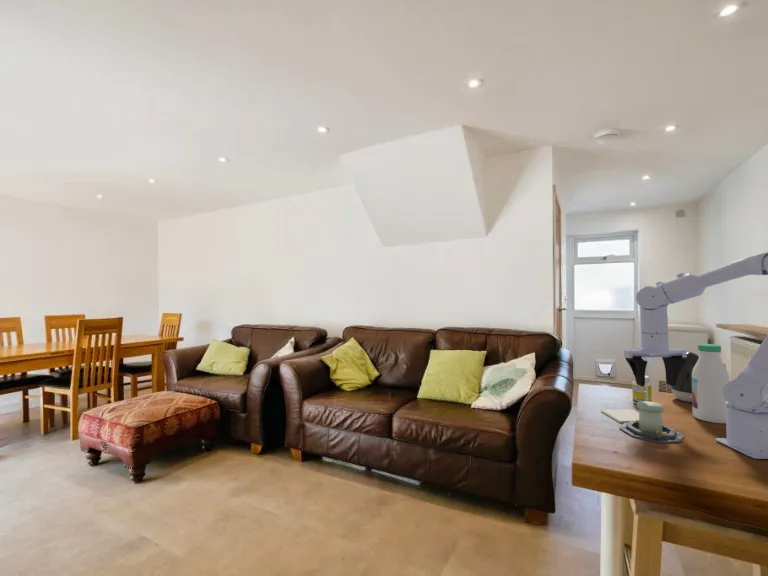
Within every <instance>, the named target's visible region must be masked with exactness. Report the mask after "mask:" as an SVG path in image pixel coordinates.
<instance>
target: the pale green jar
mask: <svg viewBox="0 0 768 576" xmlns="http://www.w3.org/2000/svg"><path fill="white" fill-rule="evenodd" d="M636 406H637V409H638V412H639V427H638V428H639V429H638V430H640V431H644V432H649V433H653V434H659V432H663V431H662V424H663V412H664V405H663V404H661V403H659V402H655V401H652V402H648V401H639V402H637V404H636Z"/></svg>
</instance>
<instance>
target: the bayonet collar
mask: <svg viewBox="0 0 768 576" xmlns="http://www.w3.org/2000/svg"><path fill="white" fill-rule="evenodd" d="M637 428H639V419H636V421H630V422H625V423H622V425H621V426H620V427H619V430H620V431H622V432H624V433H625V434H627V435H628V436H630V437H632V438H635V439H640V440H644V441H647V442H652V443H657V444H674V443H675V444H676V443H678V444H680V443H682V441H683V438H684V436H685V435H684V434H683V433H681V432H679V431H678V430H676V429H674V428H672V427H669V426H668V425H666V424H663V423H662V432H659V434H653V433H649V432H644V431H640V430H639V429H637Z"/></svg>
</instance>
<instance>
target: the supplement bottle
mask: <svg viewBox="0 0 768 576" xmlns="http://www.w3.org/2000/svg"><path fill="white" fill-rule="evenodd" d="M631 383H632V384H631V387H632V388H631V389H632V402H633V403H634V404H636V405H637V402H639V401H648V402H653V400H652V399H653V397H652V384H651V382H650V376H648V375H646V374H645V386H639V385H637V383H636V379H635V376H634V375H633V381H632V382H631ZM644 391H647V392H644Z"/></svg>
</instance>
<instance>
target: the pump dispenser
mask: <svg viewBox="0 0 768 576" xmlns="http://www.w3.org/2000/svg"><path fill="white" fill-rule="evenodd" d="M682 358H684V359H686V363H685V365H684V366H683V367H682V369H681V371H680V373H679V375H678V378H677V381H676V384H675V386H671V385H669V388H670V390H671V393H672V394H673V395H674V394H675V395H674V397H675V398H677V399H678V400H680V401H682V402H685V403H689V402H691V403H690V404H692V397H690V396H692V371H693V368H694V366H695V365H696V363H697V361H698V359H699V355H698V354H697V353H694V352H691V351H687V357H682Z"/></svg>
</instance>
